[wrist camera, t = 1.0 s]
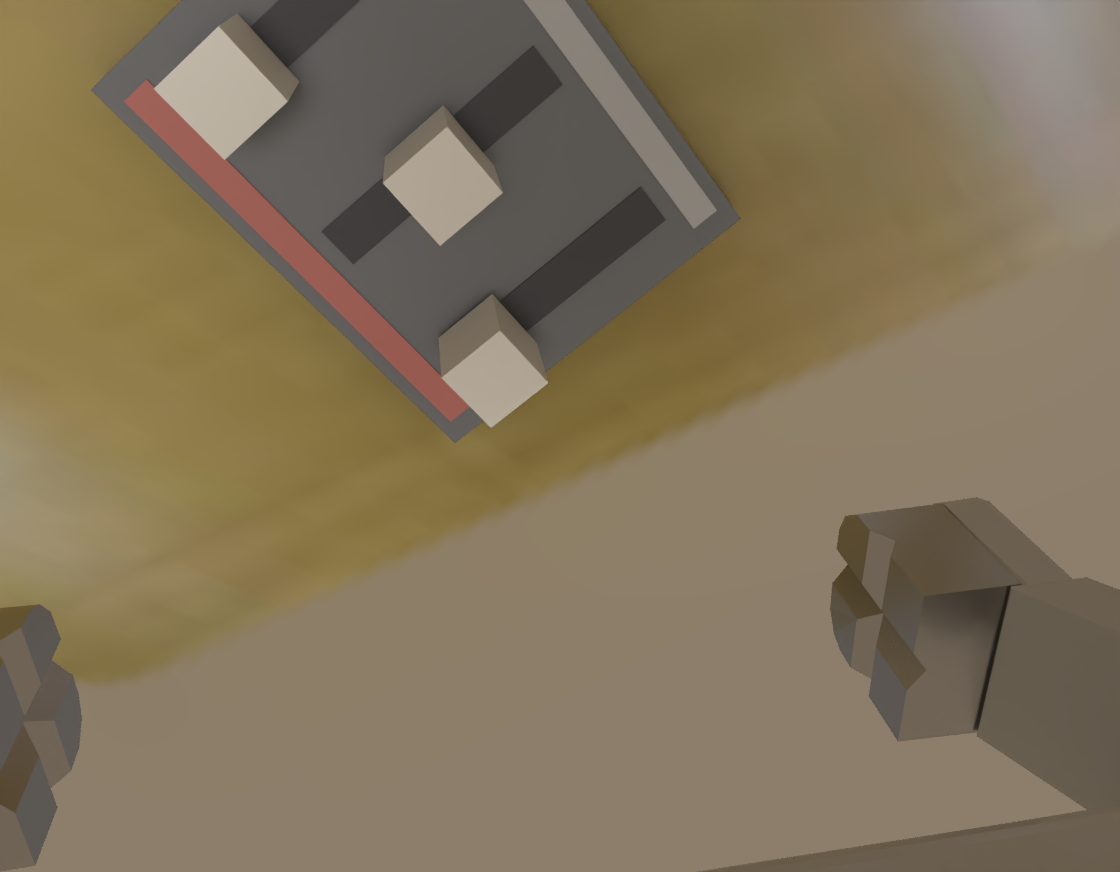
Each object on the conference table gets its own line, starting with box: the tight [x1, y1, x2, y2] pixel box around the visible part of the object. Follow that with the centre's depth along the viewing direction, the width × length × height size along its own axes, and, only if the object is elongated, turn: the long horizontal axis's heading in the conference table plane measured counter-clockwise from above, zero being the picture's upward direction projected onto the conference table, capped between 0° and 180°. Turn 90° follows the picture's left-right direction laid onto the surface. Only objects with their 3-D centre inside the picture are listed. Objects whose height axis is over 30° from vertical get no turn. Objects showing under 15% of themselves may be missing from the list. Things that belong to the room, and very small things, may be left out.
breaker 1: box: [154, 13, 299, 160], centre depth 34 cm, size 3×3×4 cm
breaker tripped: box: [383, 105, 503, 246], centre depth 36 cm, size 3×3×4 cm
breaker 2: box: [439, 294, 548, 428], centre depth 40 cm, size 3×3×4 cm
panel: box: [91, 0, 741, 443], centre depth 39 cm, size 16×20×2 cm
